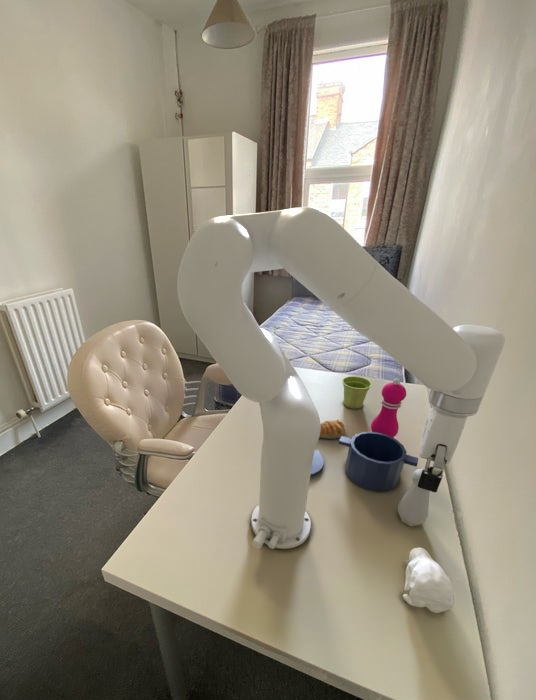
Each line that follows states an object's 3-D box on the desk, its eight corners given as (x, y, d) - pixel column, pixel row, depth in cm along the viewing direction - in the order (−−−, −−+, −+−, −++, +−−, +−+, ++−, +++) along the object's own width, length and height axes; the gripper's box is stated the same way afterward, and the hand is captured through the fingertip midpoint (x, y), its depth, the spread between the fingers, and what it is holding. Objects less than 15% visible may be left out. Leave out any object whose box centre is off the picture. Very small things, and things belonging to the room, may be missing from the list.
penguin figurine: (416, 580, 51) (407, 525, 62) (403, 616, 55) (396, 558, 65) (462, 594, 49) (445, 534, 60) (446, 629, 53) (432, 568, 63)
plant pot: (335, 406, 114) (338, 384, 110) (342, 395, 121) (346, 373, 116) (363, 414, 110) (368, 391, 105) (369, 402, 116) (374, 379, 112)
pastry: (317, 442, 96) (319, 431, 95) (308, 429, 102) (309, 419, 100) (347, 437, 98) (349, 427, 96) (336, 425, 104) (337, 415, 102)
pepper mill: (398, 440, 97) (416, 378, 87) (388, 451, 93) (406, 387, 83) (374, 430, 102) (388, 370, 92) (363, 440, 97) (378, 379, 87)
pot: (406, 502, 76) (416, 474, 72) (329, 476, 84) (334, 449, 80) (411, 470, 86) (420, 443, 82) (341, 449, 94) (346, 424, 89)
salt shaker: (426, 515, 73) (444, 470, 67) (422, 534, 69) (441, 488, 63) (397, 504, 76) (412, 460, 69) (392, 522, 72) (408, 476, 65)
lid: (314, 486, 81) (316, 468, 78) (263, 467, 87) (264, 450, 84) (329, 454, 91) (332, 438, 89) (283, 440, 97) (284, 424, 95)
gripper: (432, 374, 66) (411, 444, 74) (427, 416, 53) (402, 495, 61) (477, 382, 62) (450, 454, 71) (483, 429, 49) (449, 510, 58)
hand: (428, 473), depth 66 cm, fingers open, 9 cm apart
